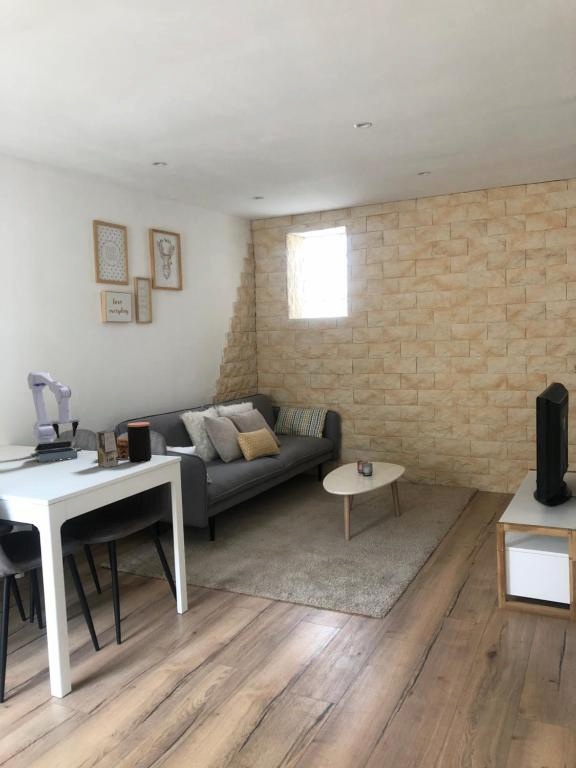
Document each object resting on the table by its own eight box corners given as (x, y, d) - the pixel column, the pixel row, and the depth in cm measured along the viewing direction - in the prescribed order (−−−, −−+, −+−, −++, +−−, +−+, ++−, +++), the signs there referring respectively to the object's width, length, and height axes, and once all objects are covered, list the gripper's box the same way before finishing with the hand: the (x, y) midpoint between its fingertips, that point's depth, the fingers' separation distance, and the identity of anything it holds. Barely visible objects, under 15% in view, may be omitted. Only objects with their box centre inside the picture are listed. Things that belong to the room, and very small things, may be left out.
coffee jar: (154, 458, 310) (152, 421, 309) (147, 462, 299) (145, 424, 298) (133, 458, 311) (131, 422, 310) (125, 462, 300) (123, 425, 299)
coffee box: (119, 465, 294) (117, 431, 293) (106, 467, 290) (103, 432, 289) (110, 463, 301) (108, 429, 300) (97, 465, 297) (95, 431, 296)
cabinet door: (34, 451, 323) (33, 447, 324) (71, 447, 332) (71, 443, 333) (38, 444, 311) (37, 440, 311) (77, 440, 320) (76, 436, 320)
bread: (104, 461, 309) (102, 440, 309) (103, 457, 319) (102, 438, 319) (143, 457, 315) (141, 437, 314) (141, 454, 325) (140, 434, 324)
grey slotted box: (29, 459, 322) (28, 452, 322) (77, 453, 334) (77, 446, 334) (33, 463, 310) (33, 455, 309) (83, 457, 322) (83, 449, 321)
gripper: (50, 412, 313) (52, 439, 314) (80, 409, 320) (82, 436, 321) (48, 412, 319) (50, 438, 320) (77, 409, 327) (79, 435, 327)
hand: (66, 437), depth 321 cm, fingers open, 7 cm apart
